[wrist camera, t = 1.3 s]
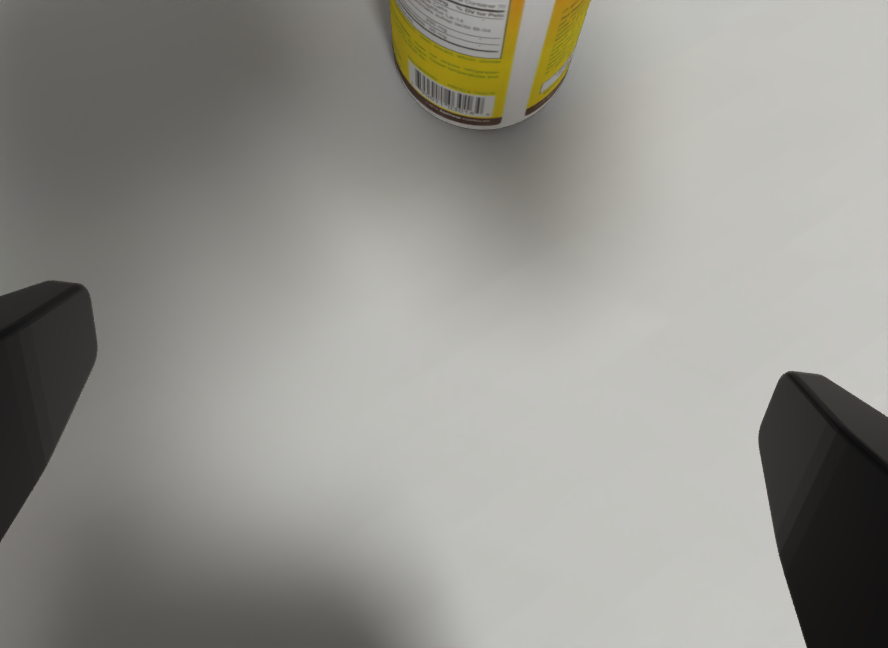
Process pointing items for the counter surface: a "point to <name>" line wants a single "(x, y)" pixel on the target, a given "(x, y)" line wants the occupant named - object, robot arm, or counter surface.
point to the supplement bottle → (484, 56)
